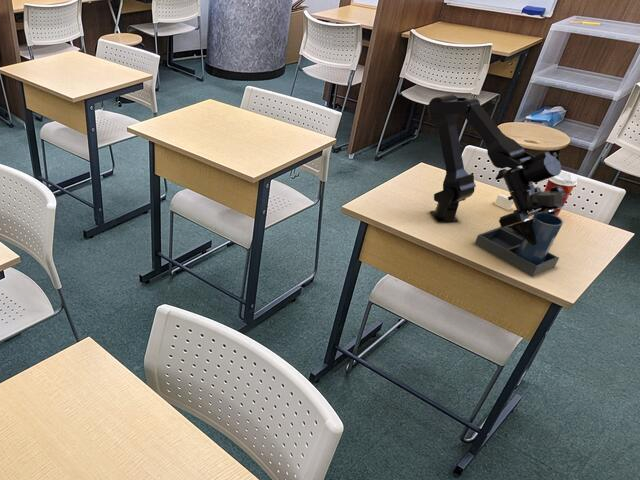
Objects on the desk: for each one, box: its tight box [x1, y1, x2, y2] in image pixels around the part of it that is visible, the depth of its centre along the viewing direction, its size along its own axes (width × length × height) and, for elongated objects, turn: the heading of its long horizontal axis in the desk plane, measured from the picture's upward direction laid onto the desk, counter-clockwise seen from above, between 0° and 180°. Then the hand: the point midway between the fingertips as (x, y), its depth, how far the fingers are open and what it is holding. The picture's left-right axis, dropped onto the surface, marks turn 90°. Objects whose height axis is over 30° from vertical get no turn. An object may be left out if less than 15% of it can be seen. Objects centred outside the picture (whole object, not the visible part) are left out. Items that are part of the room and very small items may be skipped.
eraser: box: [494, 193, 514, 211], centre depth 180 cm, size 1×5×4 cm, turn 31°
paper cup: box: [543, 171, 578, 217], centre depth 172 cm, size 8×8×14 cm
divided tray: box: [474, 226, 560, 278], centre depth 157 cm, size 18×10×3 cm, turn 26°
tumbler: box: [516, 213, 564, 265], centre depth 150 cm, size 7×7×13 cm
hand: (543, 241), depth 149 cm, fingers closed on tumbler, 7 cm apart
